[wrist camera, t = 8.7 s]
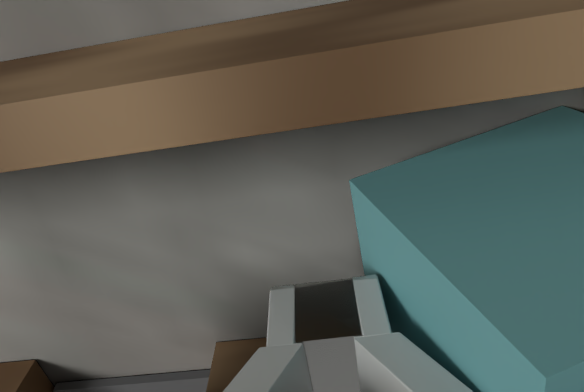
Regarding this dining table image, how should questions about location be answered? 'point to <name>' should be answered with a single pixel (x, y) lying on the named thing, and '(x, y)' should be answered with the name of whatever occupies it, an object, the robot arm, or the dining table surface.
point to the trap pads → (142, 383)
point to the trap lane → (277, 88)
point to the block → (486, 253)
